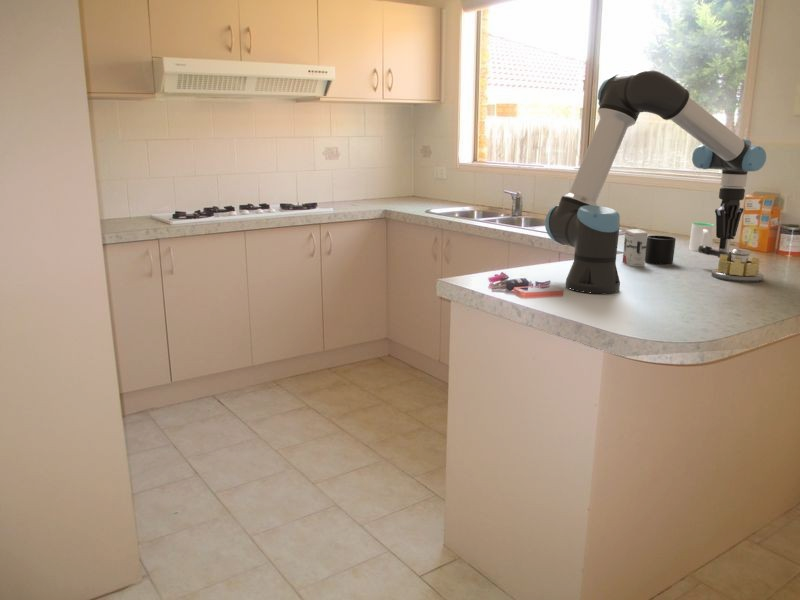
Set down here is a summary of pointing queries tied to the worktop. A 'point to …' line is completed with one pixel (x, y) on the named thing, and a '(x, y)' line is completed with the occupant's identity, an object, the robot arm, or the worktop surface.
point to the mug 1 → (660, 250)
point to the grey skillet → (732, 263)
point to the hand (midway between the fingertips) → (722, 258)
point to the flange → (736, 278)
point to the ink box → (635, 247)
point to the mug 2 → (701, 235)
